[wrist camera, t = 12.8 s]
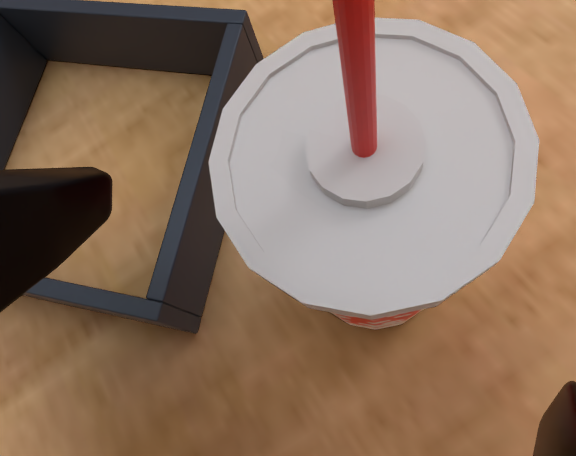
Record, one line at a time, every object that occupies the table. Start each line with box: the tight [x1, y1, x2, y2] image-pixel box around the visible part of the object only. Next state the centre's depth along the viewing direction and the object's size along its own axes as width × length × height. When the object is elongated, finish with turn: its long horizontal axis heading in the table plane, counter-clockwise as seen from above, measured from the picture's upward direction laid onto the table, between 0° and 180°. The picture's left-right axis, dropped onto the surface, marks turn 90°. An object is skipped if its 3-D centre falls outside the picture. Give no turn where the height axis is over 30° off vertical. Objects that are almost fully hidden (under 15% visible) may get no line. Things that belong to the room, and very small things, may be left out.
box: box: [0, 0, 264, 334], centre depth 19 cm, size 11×11×4 cm
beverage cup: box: [208, 0, 539, 330], centre depth 11 cm, size 6×6×14 cm
